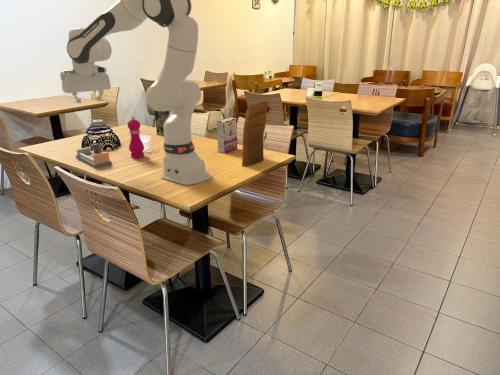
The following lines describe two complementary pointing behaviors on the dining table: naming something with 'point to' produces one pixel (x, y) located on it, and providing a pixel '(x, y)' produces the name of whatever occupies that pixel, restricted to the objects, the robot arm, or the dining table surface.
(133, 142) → the pepper mill
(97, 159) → the rail board
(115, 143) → the decorative bowl
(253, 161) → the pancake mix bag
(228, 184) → the dining table surface
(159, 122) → the coffee box
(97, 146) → the keeper
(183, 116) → the robot arm
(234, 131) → the candy bar box
